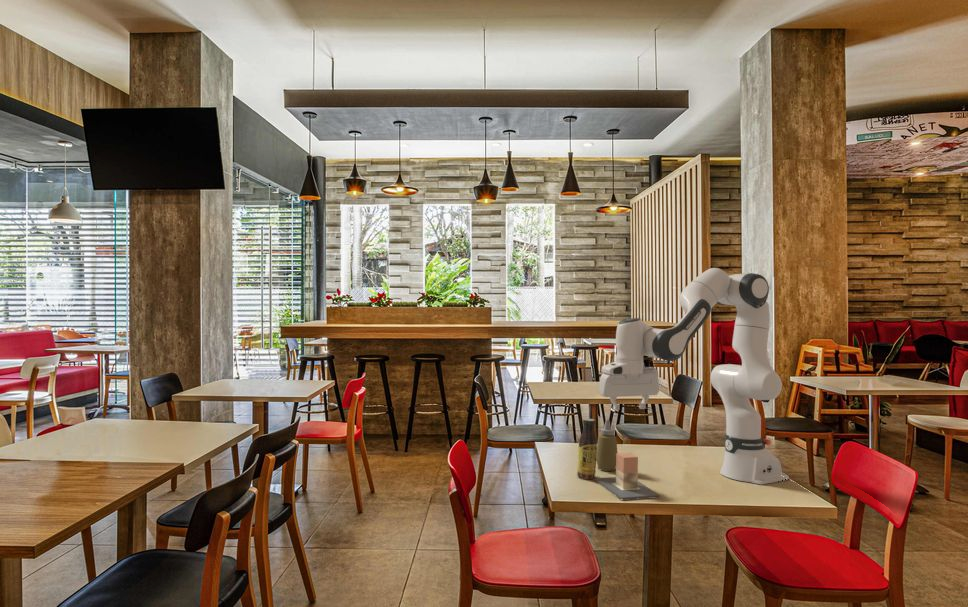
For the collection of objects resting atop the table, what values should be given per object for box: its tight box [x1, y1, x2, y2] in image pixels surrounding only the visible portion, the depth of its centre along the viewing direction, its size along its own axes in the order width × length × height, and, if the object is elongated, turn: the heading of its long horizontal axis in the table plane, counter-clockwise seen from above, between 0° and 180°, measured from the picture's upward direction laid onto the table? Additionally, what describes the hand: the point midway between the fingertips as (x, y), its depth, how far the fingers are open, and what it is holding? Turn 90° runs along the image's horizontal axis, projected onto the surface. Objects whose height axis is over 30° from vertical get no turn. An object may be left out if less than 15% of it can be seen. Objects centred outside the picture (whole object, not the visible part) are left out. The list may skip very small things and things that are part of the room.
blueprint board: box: [595, 476, 660, 500], centre depth 170 cm, size 13×18×1 cm
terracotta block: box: [615, 452, 639, 474], centre depth 170 cm, size 5×5×5 cm
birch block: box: [615, 468, 639, 489], centre depth 170 cm, size 5×5×5 cm
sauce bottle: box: [576, 418, 598, 480], centre depth 181 cm, size 6×6×20 cm
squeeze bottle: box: [596, 418, 618, 472], centre depth 190 cm, size 8×8×18 cm
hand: (629, 409), depth 173 cm, fingers open, 8 cm apart
